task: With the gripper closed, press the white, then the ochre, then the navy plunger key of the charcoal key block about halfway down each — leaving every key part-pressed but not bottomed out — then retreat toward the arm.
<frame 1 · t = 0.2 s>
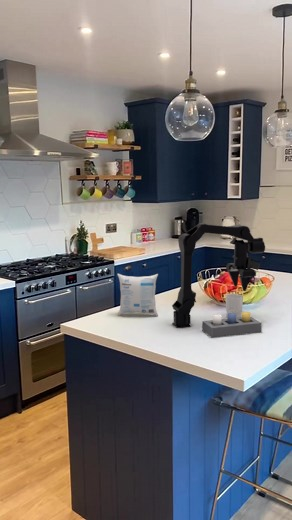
hand: (240, 288, 201), 14 cm above the countertop, fingers open, 9 cm apart
navy key: (231, 318, 187), point 5 cm above the countertop, slide at 0.0 cm
ochre key: (246, 317, 189), point 5 cm above the countertop, slide at 0.0 cm
white key: (217, 320, 186), point 5 cm above the countertop, slide at 0.0 cm
white cup: (233, 317, 208), on the countertop
key block: (231, 331, 188), on the countertop
pouch: (138, 315, 213), on the countertop
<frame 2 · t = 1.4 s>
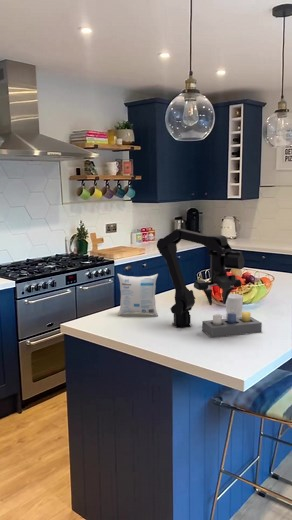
hand: (217, 304, 185), 12 cm above the countertop, fingers open, 6 cm apart
nothing on the countertop moved.
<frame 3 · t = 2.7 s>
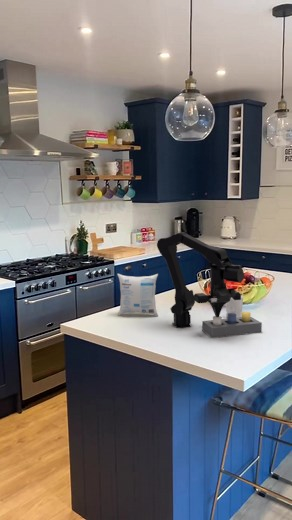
hand: (217, 317, 185), 7 cm above the countertop, fingers closed, pressing on white key
white key: (217, 321, 186), point 5 cm above the countertop, slide at 0.6 cm, touching gripper
everything else where it was.
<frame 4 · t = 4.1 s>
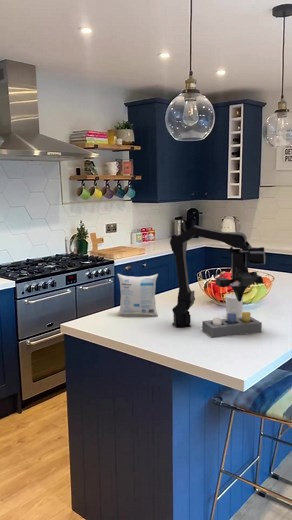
hand: (239, 301, 186), 13 cm above the countertop, fingers closed
white key: (217, 323, 186), point 4 cm above the countertop, slide at 1.5 cm
everything else where it was.
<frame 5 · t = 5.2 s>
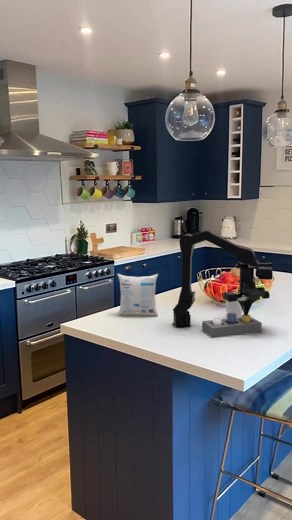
hand: (245, 315, 189), 6 cm above the countertop, fingers closed, pressing on ochre key
ochre key: (245, 320, 189), point 4 cm above the countertop, slide at 1.1 cm, touching gripper
everything else where it was.
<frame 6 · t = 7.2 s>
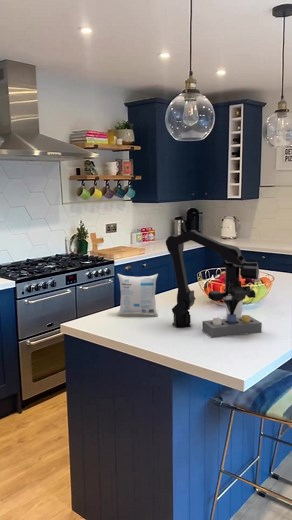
hand: (231, 314, 187), 7 cm above the countertop, fingers closed, pressing on navy key
navy key: (231, 319, 187), point 5 cm above the countertop, slide at 0.2 cm, touching gripper
ochre key: (245, 320, 189), point 4 cm above the countertop, slide at 1.5 cm
everything else where it was.
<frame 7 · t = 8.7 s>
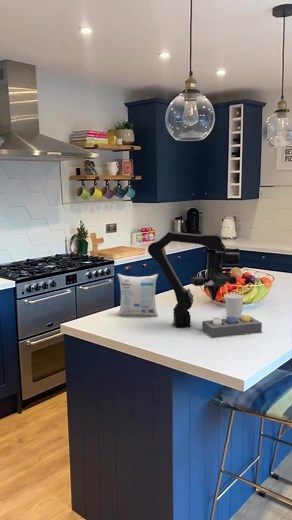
hand: (213, 300, 192), 12 cm above the countertop, fingers closed
navy key: (231, 322, 188), point 4 cm above the countertop, slide at 1.5 cm
everything else where it was.
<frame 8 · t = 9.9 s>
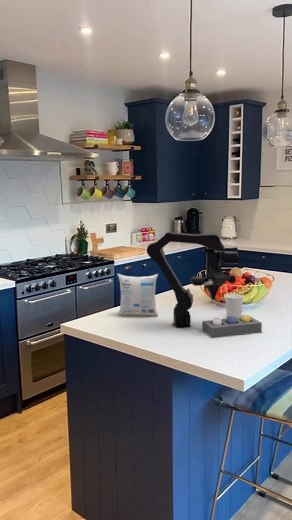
hand: (212, 299, 193), 12 cm above the countertop, fingers closed
nothing on the countertop moved.
at the end: white key slide at 1.5 cm; ochre key slide at 1.5 cm; navy key slide at 1.5 cm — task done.
